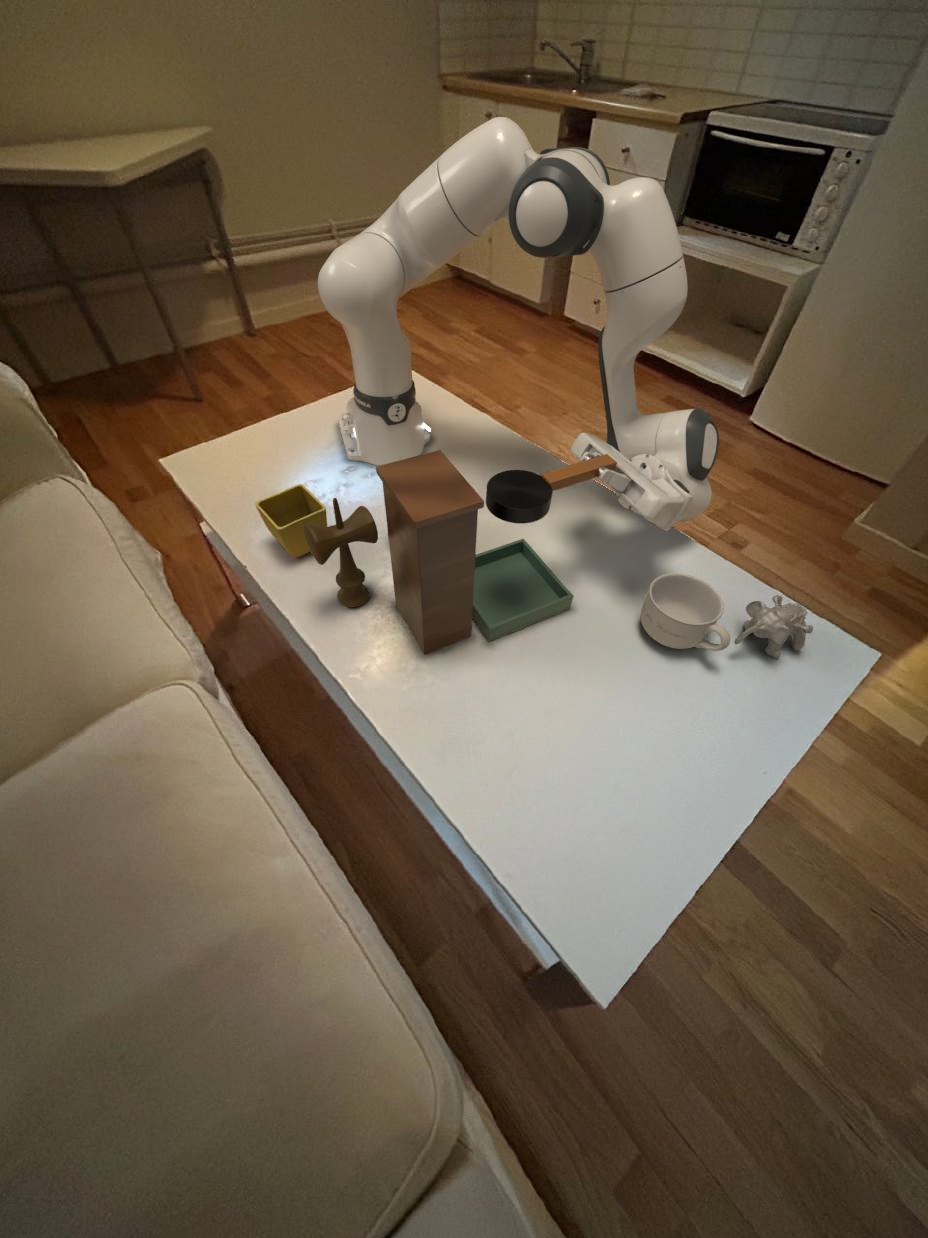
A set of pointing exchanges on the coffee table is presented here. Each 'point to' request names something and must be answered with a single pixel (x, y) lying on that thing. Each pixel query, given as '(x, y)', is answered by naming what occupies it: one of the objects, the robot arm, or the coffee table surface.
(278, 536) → the flower pot
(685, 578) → the teacup
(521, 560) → the tray
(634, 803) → the coffee table surface
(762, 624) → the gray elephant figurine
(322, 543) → the kendama
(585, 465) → the skillet
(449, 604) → the stand
